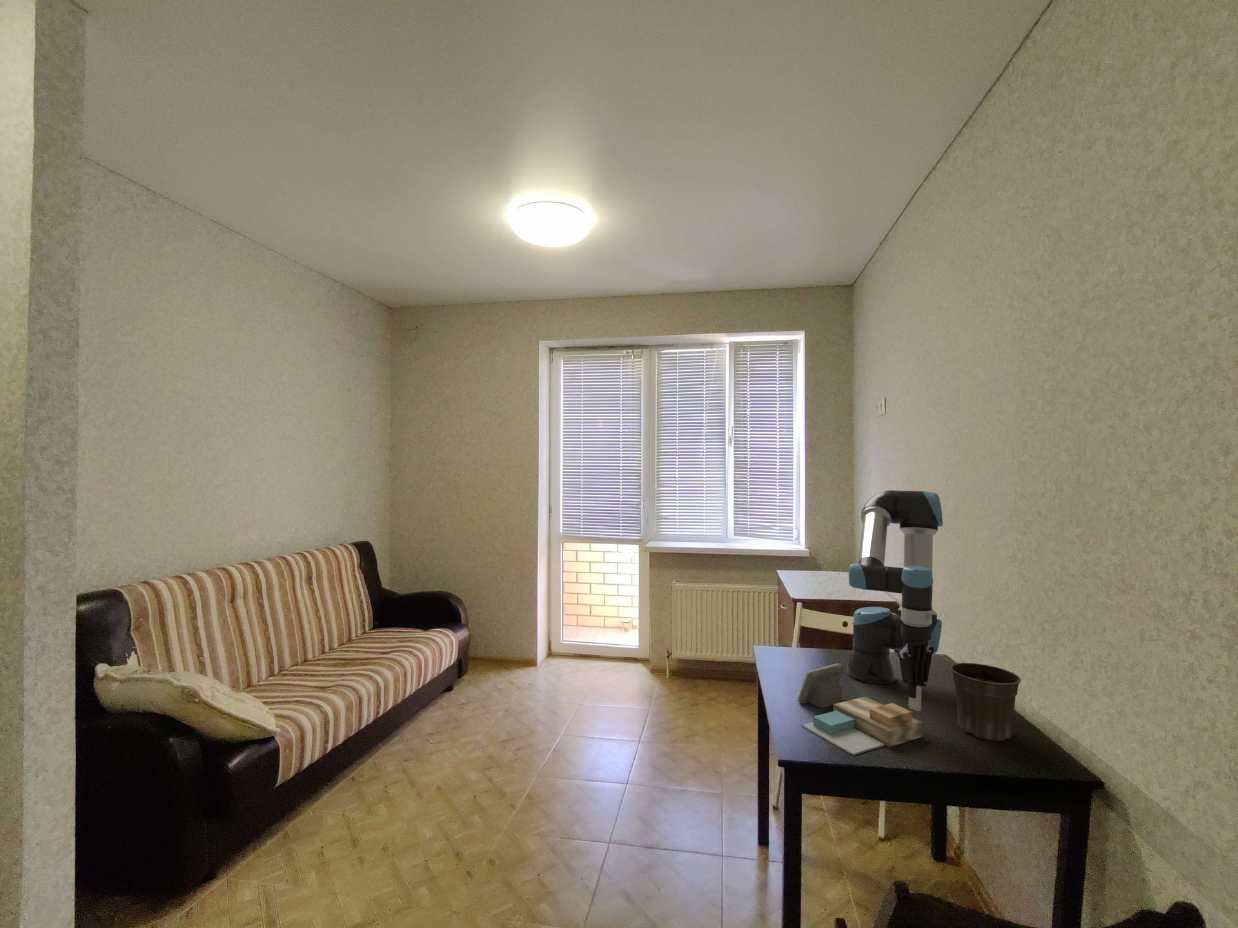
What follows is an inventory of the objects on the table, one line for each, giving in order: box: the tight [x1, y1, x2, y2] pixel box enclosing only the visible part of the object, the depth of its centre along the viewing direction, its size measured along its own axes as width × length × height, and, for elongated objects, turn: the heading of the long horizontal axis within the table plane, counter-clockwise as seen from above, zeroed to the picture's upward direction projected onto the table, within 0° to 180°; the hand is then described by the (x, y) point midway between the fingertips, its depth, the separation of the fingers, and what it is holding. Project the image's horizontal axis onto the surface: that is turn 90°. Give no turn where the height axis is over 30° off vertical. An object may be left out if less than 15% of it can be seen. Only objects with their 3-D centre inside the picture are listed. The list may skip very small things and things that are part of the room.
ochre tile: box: [870, 702, 913, 728], centre depth 150 cm, size 9×6×2 cm, turn 117°
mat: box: [801, 721, 885, 756], centre depth 149 cm, size 12×17×1 cm
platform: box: [832, 696, 923, 748], centre depth 154 cm, size 13×18×4 cm
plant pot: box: [949, 662, 1022, 742], centre depth 153 cm, size 16×16×16 cm
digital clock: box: [797, 663, 844, 709], centre depth 171 cm, size 16×9×11 cm, turn 111°
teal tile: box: [812, 711, 855, 735], centre depth 153 cm, size 9×6×2 cm, turn 117°
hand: (914, 708), depth 155 cm, fingers closed
